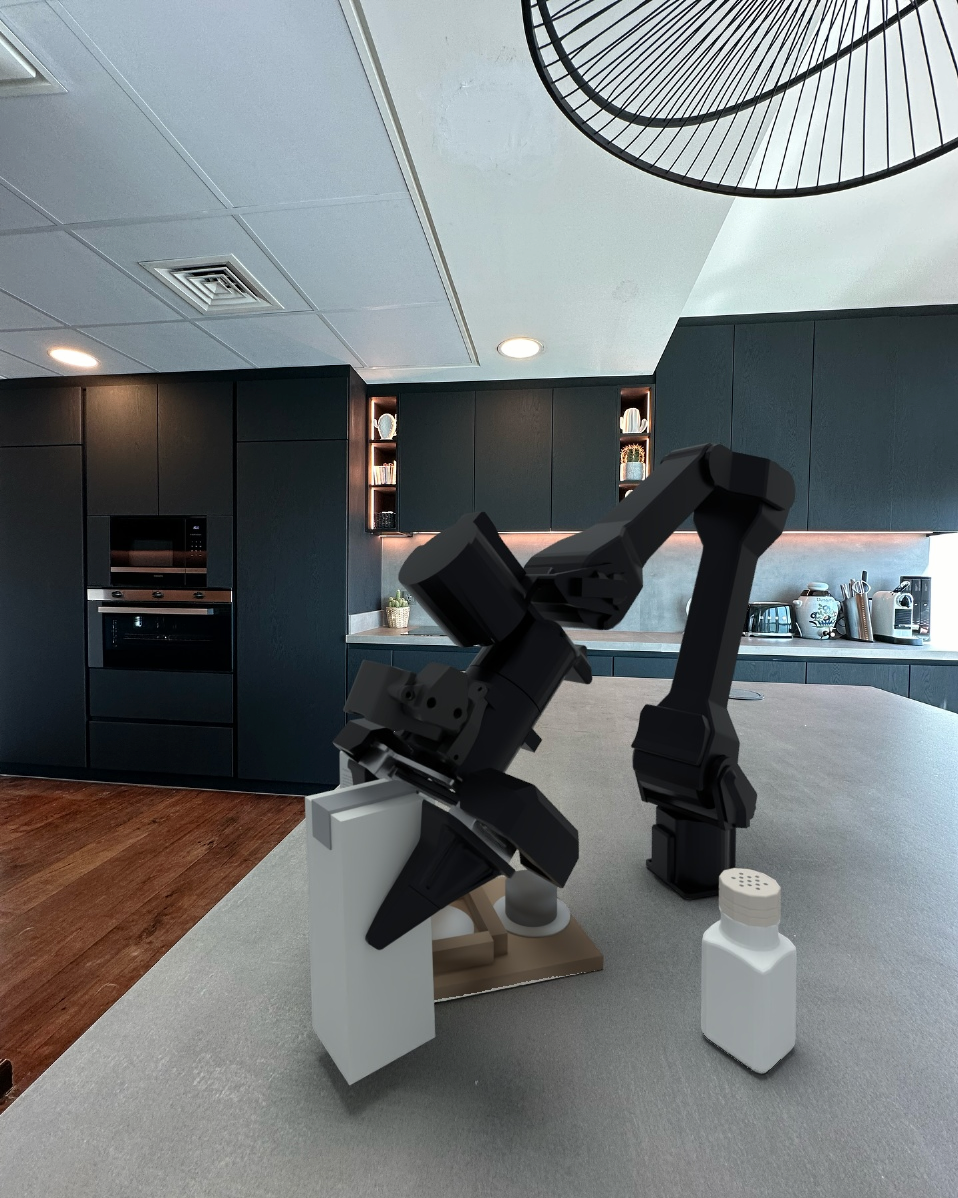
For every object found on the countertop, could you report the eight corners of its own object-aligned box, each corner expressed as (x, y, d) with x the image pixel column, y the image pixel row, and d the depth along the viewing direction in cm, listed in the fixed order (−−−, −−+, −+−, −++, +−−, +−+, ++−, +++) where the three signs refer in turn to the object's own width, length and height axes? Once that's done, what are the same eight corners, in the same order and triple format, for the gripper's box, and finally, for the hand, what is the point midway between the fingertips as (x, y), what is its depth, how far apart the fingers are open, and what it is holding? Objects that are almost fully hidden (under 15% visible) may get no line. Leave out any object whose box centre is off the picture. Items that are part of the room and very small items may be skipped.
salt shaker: (763, 1085, 31) (765, 908, 30) (696, 1037, 34) (697, 877, 34) (800, 1049, 33) (802, 885, 33) (733, 1008, 36) (735, 858, 36)
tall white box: (393, 989, 36) (385, 774, 36) (436, 1036, 32) (428, 794, 32) (310, 1029, 32) (303, 793, 33) (347, 1086, 28) (338, 818, 29)
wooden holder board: (538, 883, 51) (538, 844, 51) (603, 969, 40) (603, 919, 40) (354, 910, 47) (354, 868, 47) (367, 1017, 35) (367, 961, 35)
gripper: (357, 605, 42) (193, 792, 35) (538, 617, 27) (312, 942, 20) (448, 700, 47) (318, 878, 40) (641, 753, 32) (487, 1049, 25)
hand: (348, 921), depth 31 cm, fingers closed on tall white box, 5 cm apart
